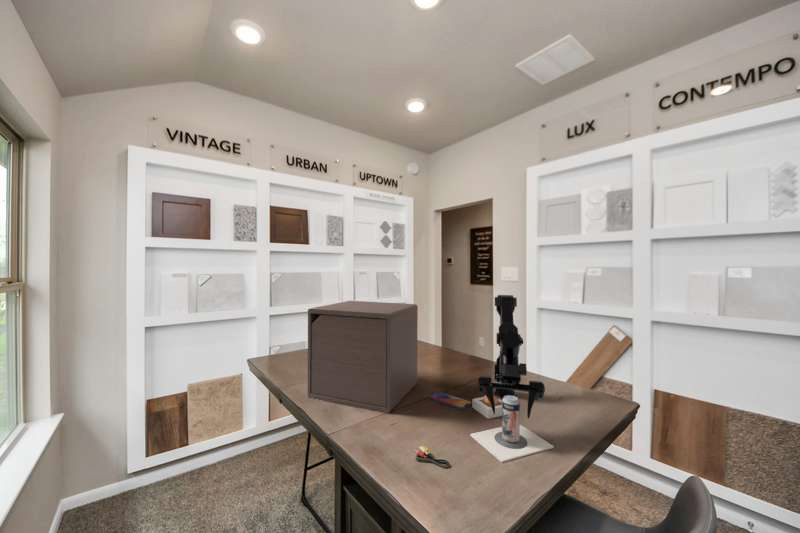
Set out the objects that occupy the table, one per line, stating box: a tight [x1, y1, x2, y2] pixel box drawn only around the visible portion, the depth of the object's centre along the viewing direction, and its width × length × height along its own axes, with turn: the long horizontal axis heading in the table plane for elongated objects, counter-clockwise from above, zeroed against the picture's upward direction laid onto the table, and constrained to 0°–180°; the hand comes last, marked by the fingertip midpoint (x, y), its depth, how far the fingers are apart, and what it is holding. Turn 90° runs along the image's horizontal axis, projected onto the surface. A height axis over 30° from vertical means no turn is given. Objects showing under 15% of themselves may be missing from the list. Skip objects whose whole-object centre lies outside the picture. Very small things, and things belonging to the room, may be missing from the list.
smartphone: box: [429, 391, 472, 411], centre depth 119 cm, size 7×15×1 cm, turn 47°
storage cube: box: [306, 300, 419, 414], centre depth 128 cm, size 34×29×34 cm
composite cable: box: [414, 445, 451, 469], centre depth 82 cm, size 10×5×2 cm, turn 48°
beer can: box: [501, 395, 521, 443], centre depth 92 cm, size 5×5×12 cm
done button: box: [482, 395, 499, 407], centre depth 111 cm, size 5×5×2 cm
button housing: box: [471, 396, 502, 420], centre depth 111 cm, size 9×9×3 cm
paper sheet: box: [469, 424, 555, 463], centre depth 92 cm, size 18×14×1 cm
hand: (511, 415), depth 90 cm, fingers open, 9 cm apart
